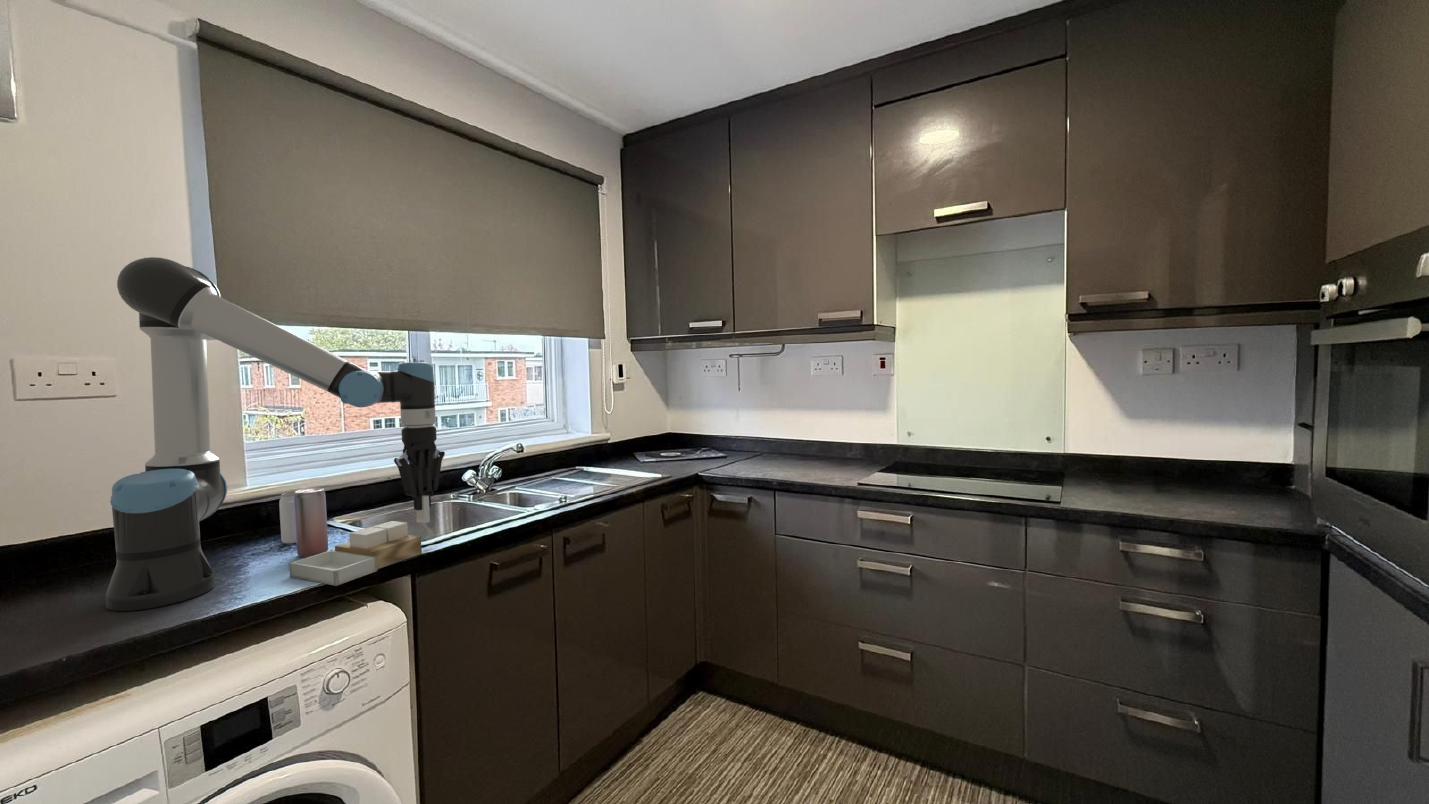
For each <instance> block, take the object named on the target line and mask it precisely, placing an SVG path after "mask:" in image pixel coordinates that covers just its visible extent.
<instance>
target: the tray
mask: <svg viewBox="0 0 1429 804" xmlns="http://www.w3.org/2000/svg"><path fill="white" fill-rule="evenodd" d="M288 566H289V567H288V569H289V578H293V579H298V580H303V581H308V582H314V583H319V584H323V585H324V584H325V585H329V586H335V587H337V586H340V585H343V584H345V583H348V582H350V581H353V580H356V579H359V578H361V577H364V576H367V575H369V574H372V573H375V572H378V569H377V557H374V556H367V555H361V554H354V553H348V552H341V551H335V549H334V550H333V549H331V550H327V552H324V553H320V554H317V555H314V556H310V557H307V558H301V559H297V560H294V561H291V562H288Z"/></svg>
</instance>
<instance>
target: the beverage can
mask: <svg viewBox="0 0 1429 804" xmlns="http://www.w3.org/2000/svg"><path fill="white" fill-rule="evenodd" d="M294 492H295V495H294V506H295V523H296V541H297V543H296V554H297V555H298V557H300V558H302V559H304V558H307V557H310V556H314V555H317V554H320V553H324V552H327V551H329V536H328V535H329V534H328V517H327V501H326V492H325V488H324V487H314V488H313V487H309V488H304V489H298V490H295V491H294Z"/></svg>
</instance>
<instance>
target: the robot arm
mask: <svg viewBox="0 0 1429 804" xmlns="http://www.w3.org/2000/svg"><path fill="white" fill-rule="evenodd" d="M116 281H117V282H116V284H117V285H116V287H117V291H118V294H119V296H120V298H121V299H122V301H123V302H124V303H125V304H126V305H127V306H128V307H129V308H131V309H132V310H134V311H136V312H137V313H138V322H139V330H141V331H142V332H143V334H146V335H147V336H148V337H149V338H150V356H151V357H150V359H151V360H150V361H151V382H152V383H151V384H152V385H151V387H152V410H153V413H152V414H153V433H154V434H153V435H154V455H153V456H152V457H151V458H150V459H149V460H147V461H146V462H145V464H144V465H145V466H144V467H145V469H144V471H141V472H139V473H133V474H129V475H127V476H124V477H122V478H119V479H118V480H116V481H115V483H114V484H113V485H112V488H111V496H110V501H109V502H110V506H111V512H112V523H113V533H114V544H115V545H114V547H115V556H116V557H115V558H116V565H115V567H114V569H113V573H112V575H111V577H110V578H111V579H110V581H109V584H108V587H107V590H106V593H105V606H106V609H108V610H110V611H117V612H127V611H128V612H129V611H130V612H131V611H141V610H148V609H153V608H159V607H162V606H163V607H164V606H167V605H172V604H177V603H179V602H180V603H181V602H183V601H187V600H190V599H193V598H196V597H199V596H201V595H203V594H205V593H207V592H209V591H211V590H212V589H213V588H214V587H216V581H215V573H214V570H213V569H212V567H211V565H210V563H209V562H208V559H207V557H206V556H205V554H204V552H203V550H202V547H201V546H202V545H201V532H200V531H201V530H200V522H201V521H203V520H206V519H207V518H210V517H211V516H212V515H214V513H216V512H217V511H218V510H219V509H220V507H221V506H222V505H223V503H224V501H226V497H227V495H228V494H227V493H228V484H227V480H226V478H225V477H224V475H223V474H222V473H221V462H220V457H218V456H217V455H216V454H215V453H213V452H212V451H211V439H210V438H211V437H210V411H209V410H210V408H209V405H210V404H209V383H208V381H209V379H208V376H209V375H208V357H207V356H208V353H207V351H208V346H207V340H208V339H209V338H210V337H211V338H213V339H215V340H217V341H219V342H221V343H223V344H225V345H227V346H230V347H232V348H234V349H236V350H238V351H240V352H243V353H244V354H246V355H249V356H251V357H253V358H255V359H257V360H259V361H261V362H263V363H265V364H267V365H270V366H272V367H274V368H276V369H279V370H281V371H283V372H285V373H286V374H290V375H291V376H293V377H296V378H297V379H300V380H303V381H304V382H306V383H308V384H311V385H313V386H314V387H316V388H318V389H321V390H324V391H325V392H327V393H329V394H331V395H333V396H335V397H337V398H339V399H340V401H341V403H343V404H345V405H346V404H347V405H350V406H353V407H354V408H355V407H356V408H368V407H371V406H373V405H375V404H384V403H399V404H400V405H399V406H400V410H399V411H400V426H402V429H401V430H400V432H401V442H402V443H403V450H402V454H401V455H400V456H398V457H395V458H394V459H393V463H394V464H395V465H396V466H397V469H398V473H399V476H400V480H401V482H402V487H403V491H404V494H405V495H406V496H410V497H412V498H413V510H414V511H415V512H416V514H415V515H416V516H415V517H416V523H418V524H427V523H428V524H429V523H430V522H431V517H430V516H431V513H430V508H431V507H432V500H431V499H432V496H434V495H435V491H438V489H439V484H440V483H439V481H440V475H441V468H442V464H443V463H442V461H443V459H444V457H445V455H446V453H445V451H443V450H440V449H437V444H436V443H435V442H436V441H437V426H435V424H436V422H437V421H436V419H437V418H436V399H435V397H436V393H435V391H436V390H435V378H434V377H435V376H434V368H433V364H431V363H429V362H425V361H423V362H422V361H421V362H420V361H419V362H418V361H415V362H413V361H411V362H407V361H406V362H399V363H398V365H397V366H398V367H397V370H389V371H387V370H384V371H382V370H376V371H375V370H367V369H365V368H363V367H361V366H358V365H357V364H355V363H352V362H350V361H348V360H346V359H345V358H343V357H341V356H340V355H336V354H335V353H333V352H331V351H328V350H327V349H325V348H323V347H320V346H318V345H317V344H315V343H312V342H311V341H309V340H307V339H305V338H303V337H300V336H298V335H297V334H295V333H292V332H291V331H289V330H287V329H285V328H282V327H280V326H279V325H277V324H274V323H273V322H271V321H269V320H267V319H265V318H263V317H261V316H259V315H257V314H255V313H252V312H251V311H249V310H248V309H247V310H246V309H245V308H244V307H241V306H239V305H237V304H235V303H232V302H231V301H229V300H227V299H226V298H223V297H222V296H221V293H220V290H219V289H218V288H219V287H217V285H216V284H215V283H214V281H212V280H211V278H210V277H208V276H207V275H206V274H204V273H203V272H201V271H200V270H197V269H195V268H193V267H191V266H185V265H183V264H181V263H179V262H177V261H174V260H171V259H168V258H163V257H155V256H154V257H153V256H152V257H151V256H150V257H143V258H138V259H136V260H133V261H131V262H129V263H128V264H126V265H125V266H124V267H123V268H122V269H121V271H120V272H119V274H118V277H117V280H116Z"/></svg>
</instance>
